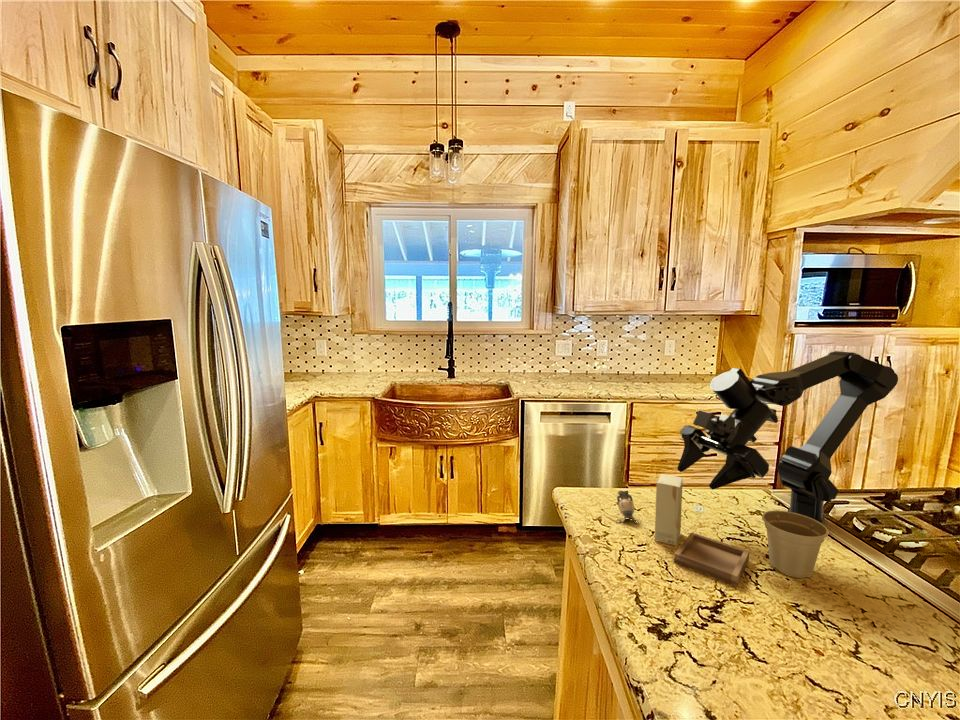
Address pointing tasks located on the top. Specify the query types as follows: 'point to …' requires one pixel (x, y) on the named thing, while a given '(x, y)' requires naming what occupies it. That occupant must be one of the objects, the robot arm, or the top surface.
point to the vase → (625, 505)
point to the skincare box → (668, 509)
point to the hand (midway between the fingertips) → (693, 478)
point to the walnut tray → (712, 558)
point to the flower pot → (793, 542)
